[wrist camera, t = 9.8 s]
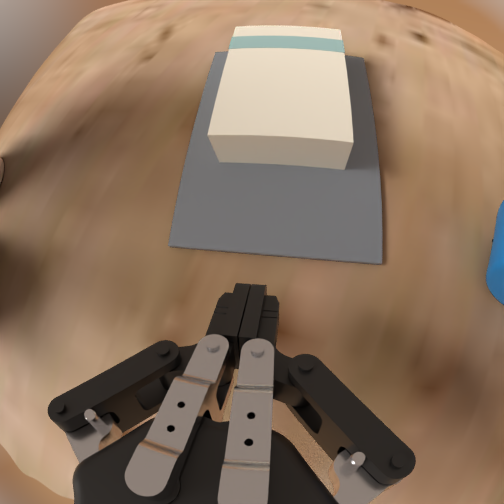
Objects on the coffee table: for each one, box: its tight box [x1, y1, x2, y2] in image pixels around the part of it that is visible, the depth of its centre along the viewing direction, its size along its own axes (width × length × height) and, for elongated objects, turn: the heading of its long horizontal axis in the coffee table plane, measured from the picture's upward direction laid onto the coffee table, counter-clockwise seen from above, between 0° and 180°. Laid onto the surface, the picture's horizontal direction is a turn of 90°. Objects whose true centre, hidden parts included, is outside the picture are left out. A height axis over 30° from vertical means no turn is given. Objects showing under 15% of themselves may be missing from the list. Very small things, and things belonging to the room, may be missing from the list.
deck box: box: [208, 26, 354, 170], centre depth 22 cm, size 4×10×14 cm
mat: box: [168, 51, 382, 265], centre depth 24 cm, size 22×16×1 cm
